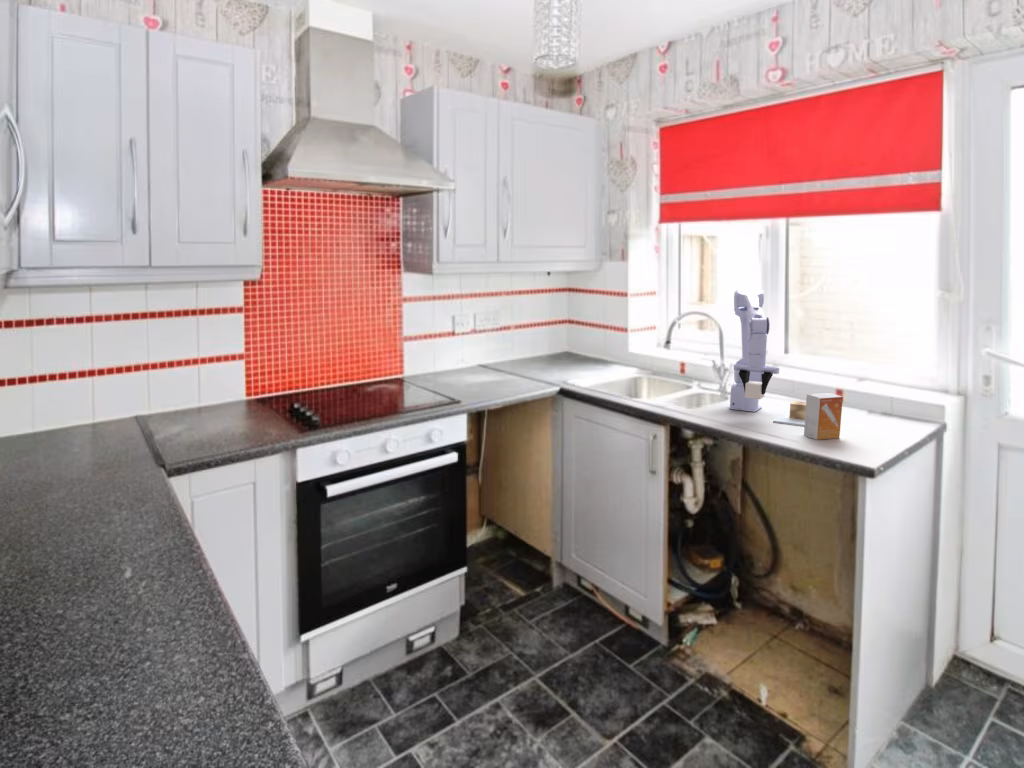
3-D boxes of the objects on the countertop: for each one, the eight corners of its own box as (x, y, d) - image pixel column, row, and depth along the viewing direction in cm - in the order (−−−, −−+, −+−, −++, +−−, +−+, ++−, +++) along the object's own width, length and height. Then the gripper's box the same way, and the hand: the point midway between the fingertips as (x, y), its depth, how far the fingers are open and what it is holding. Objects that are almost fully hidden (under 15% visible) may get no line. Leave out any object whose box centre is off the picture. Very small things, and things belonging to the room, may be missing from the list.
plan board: (773, 422, 218) (773, 420, 218) (785, 413, 230) (785, 411, 230) (811, 427, 211) (811, 425, 211) (821, 417, 223) (822, 415, 223)
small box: (817, 440, 197) (820, 398, 194) (803, 435, 203) (805, 394, 200) (840, 438, 198) (843, 396, 196) (825, 433, 204) (828, 392, 202)
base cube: (789, 418, 221) (790, 403, 220) (793, 415, 225) (793, 400, 224) (805, 419, 218) (806, 405, 217) (808, 416, 222) (809, 402, 221)
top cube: (744, 397, 222) (745, 383, 221) (749, 395, 226) (750, 380, 225) (760, 399, 219) (760, 384, 218) (764, 396, 223) (765, 382, 222)
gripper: (731, 353, 221) (729, 392, 223) (776, 356, 212) (773, 397, 215) (738, 350, 226) (736, 389, 229) (781, 353, 218) (779, 393, 220)
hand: (754, 392), depth 222 cm, fingers closed on top cube, 5 cm apart
